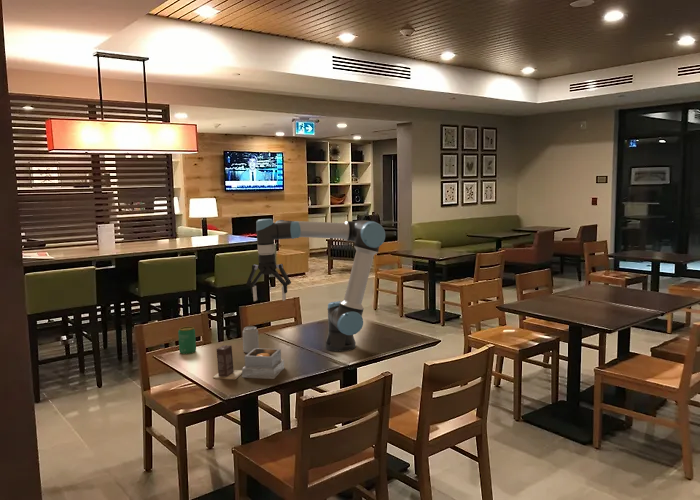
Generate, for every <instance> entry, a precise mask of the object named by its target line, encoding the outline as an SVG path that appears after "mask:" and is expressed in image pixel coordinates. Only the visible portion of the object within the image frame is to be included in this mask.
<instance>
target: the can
mask: <svg viewBox="0 0 700 500" xmlns="http://www.w3.org/2000/svg"><path fill="white" fill-rule="evenodd" d="M259 346H260V345H259V330H258V329H257V326H245V327H243V330H242V349H243V350H242V351H243V352H244V353H246V354H248V353H249V352H251V351H252V350H253V349H254V348H260V347H259Z"/></svg>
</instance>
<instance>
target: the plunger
mask: <svg viewBox="0 0 700 500" xmlns="http://www.w3.org/2000/svg"><path fill="white" fill-rule="evenodd" d="M257 356H269V357H270V354H268V353H261V354H257Z"/></svg>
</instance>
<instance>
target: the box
mask: <svg viewBox="0 0 700 500" xmlns="http://www.w3.org/2000/svg"><path fill="white" fill-rule="evenodd" d="M215 351H216V358H217V370H218V371H217V373H218V374H219V376H224V377H227V376H228V375H230V374H231V373H233V372H234V370H235V369H234V361H233V360H234V358H233V346H232V345H227V344H226V345H225V344H223V345H221V346H220V347H218V348H216V350H215Z"/></svg>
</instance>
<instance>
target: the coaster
mask: <svg viewBox="0 0 700 500" xmlns="http://www.w3.org/2000/svg"><path fill="white" fill-rule="evenodd" d="M233 370H234V372H233V373H231V374H230V375H228V376H227V377H224V376H219V374H218V372H217V373H216V374H215V375H214V376H212V379H214V378H215V380H217V379H218V380H235V381H236V380H237V378H239V377H240V376H242V369H233Z"/></svg>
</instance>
